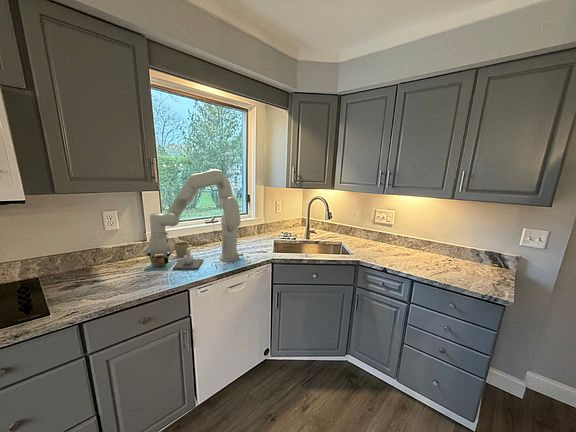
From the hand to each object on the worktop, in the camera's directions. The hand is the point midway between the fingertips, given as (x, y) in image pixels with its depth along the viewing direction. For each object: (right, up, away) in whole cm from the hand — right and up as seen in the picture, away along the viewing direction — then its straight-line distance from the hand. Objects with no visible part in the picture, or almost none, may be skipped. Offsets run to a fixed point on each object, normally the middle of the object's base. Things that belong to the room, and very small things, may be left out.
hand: (159, 263), depth 143 cm
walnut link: (0, 0, 0) cm, 0 cm away
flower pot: (+4, +1, +19) cm, 20 cm away
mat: (0, -2, 0) cm, 2 cm away
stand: (+15, -2, +4) cm, 16 cm away
